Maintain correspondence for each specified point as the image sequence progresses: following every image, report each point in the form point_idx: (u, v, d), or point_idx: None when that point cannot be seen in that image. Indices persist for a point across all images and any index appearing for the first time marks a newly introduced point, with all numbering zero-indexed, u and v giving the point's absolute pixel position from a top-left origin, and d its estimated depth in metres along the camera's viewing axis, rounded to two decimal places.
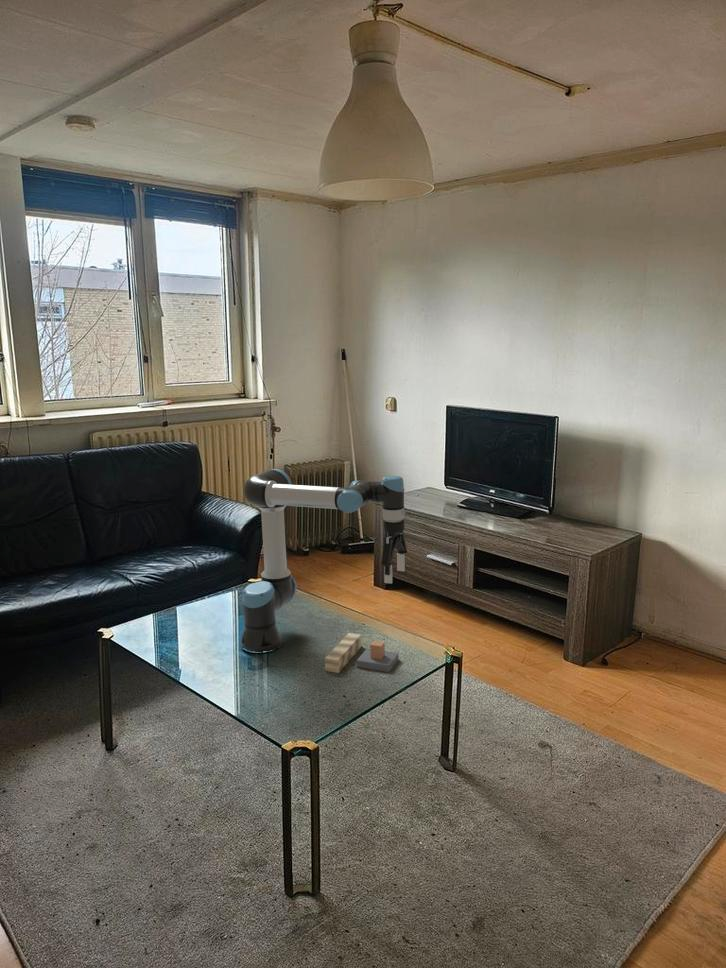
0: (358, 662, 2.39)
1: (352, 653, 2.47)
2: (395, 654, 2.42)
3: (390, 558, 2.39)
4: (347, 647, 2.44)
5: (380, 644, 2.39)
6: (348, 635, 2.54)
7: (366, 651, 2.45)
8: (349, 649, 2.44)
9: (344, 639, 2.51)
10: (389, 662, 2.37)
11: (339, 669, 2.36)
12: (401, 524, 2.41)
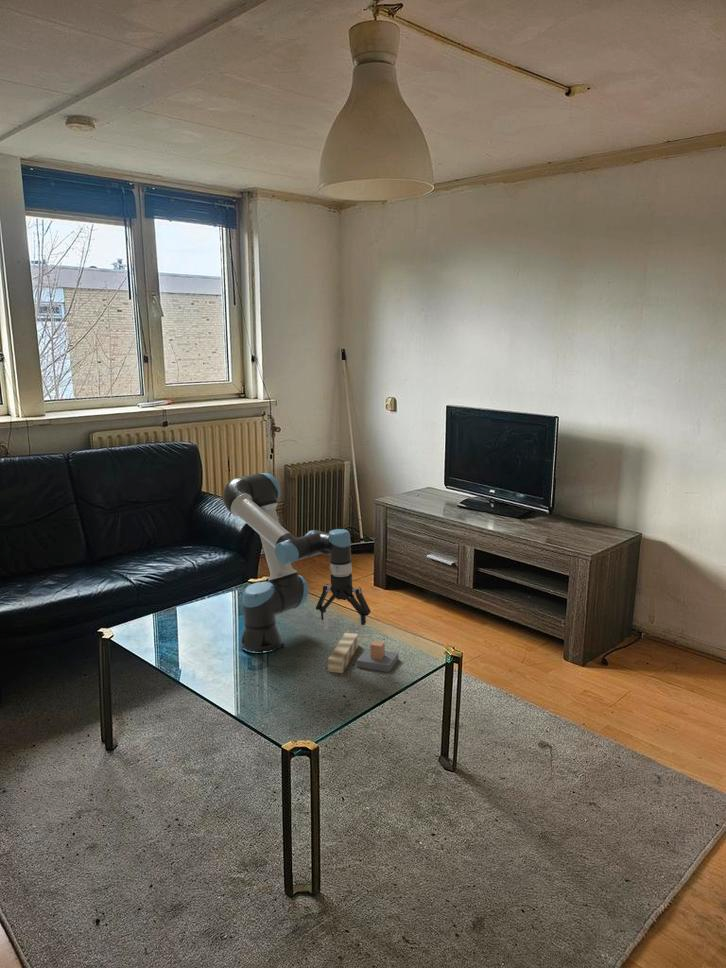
0: (358, 662, 2.39)
1: (352, 653, 2.48)
2: (395, 654, 2.42)
3: None
4: (347, 647, 2.44)
5: (380, 644, 2.39)
6: (345, 635, 2.54)
7: (366, 651, 2.45)
8: (349, 649, 2.44)
9: (343, 639, 2.51)
10: (389, 662, 2.37)
11: (343, 669, 2.36)
12: (333, 579, 2.38)
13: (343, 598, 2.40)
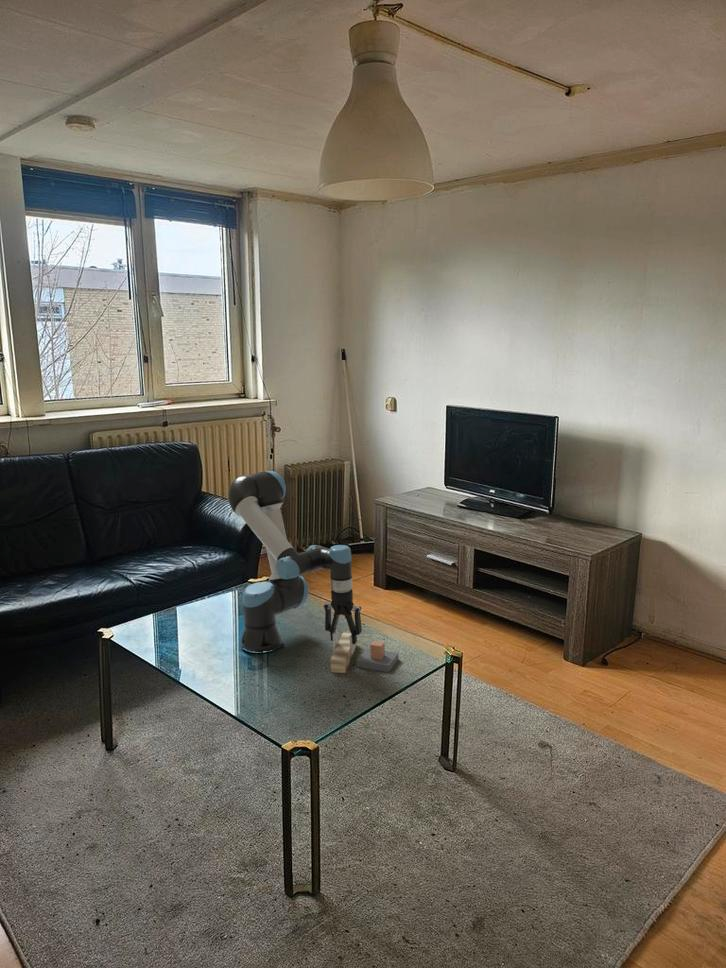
0: (358, 662, 2.39)
1: None
2: (395, 654, 2.42)
3: (331, 625, 2.45)
4: (348, 646, 2.44)
5: (380, 644, 2.39)
6: (344, 635, 2.54)
7: (366, 651, 2.45)
8: None
9: (342, 639, 2.51)
10: (389, 662, 2.37)
11: (345, 669, 2.36)
12: (333, 595, 2.39)
13: (343, 613, 2.42)
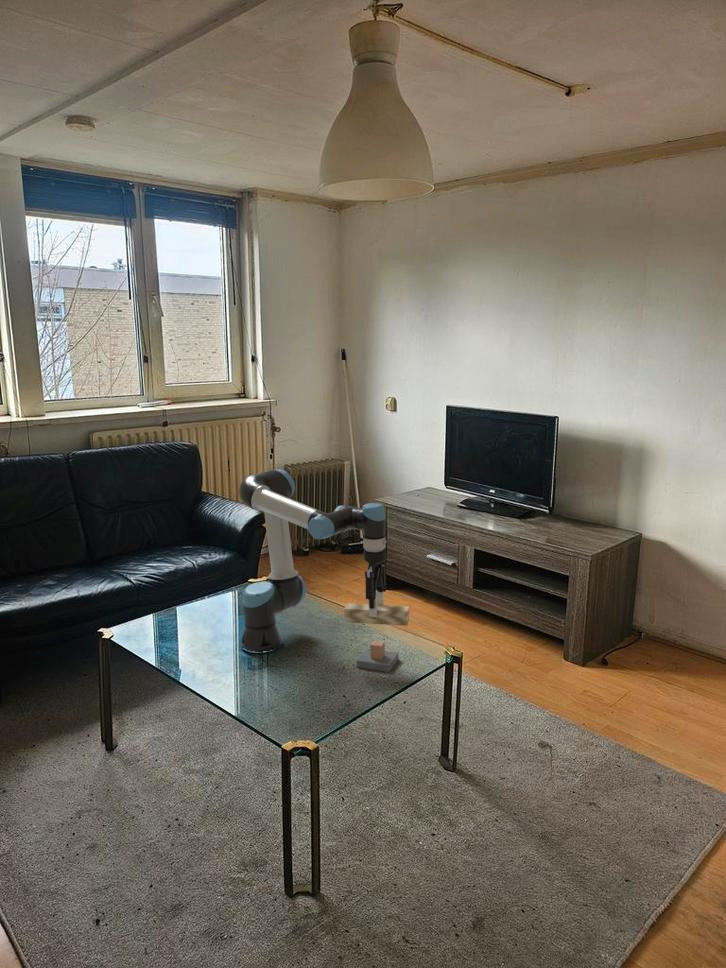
0: (358, 662, 2.39)
1: None
2: (395, 654, 2.42)
3: (374, 592, 2.32)
4: (379, 605, 2.39)
5: (380, 644, 2.39)
6: (350, 608, 2.38)
7: (366, 651, 2.45)
8: None
9: (360, 608, 2.37)
10: (389, 662, 2.37)
11: None
12: (382, 554, 2.31)
13: (379, 572, 2.35)
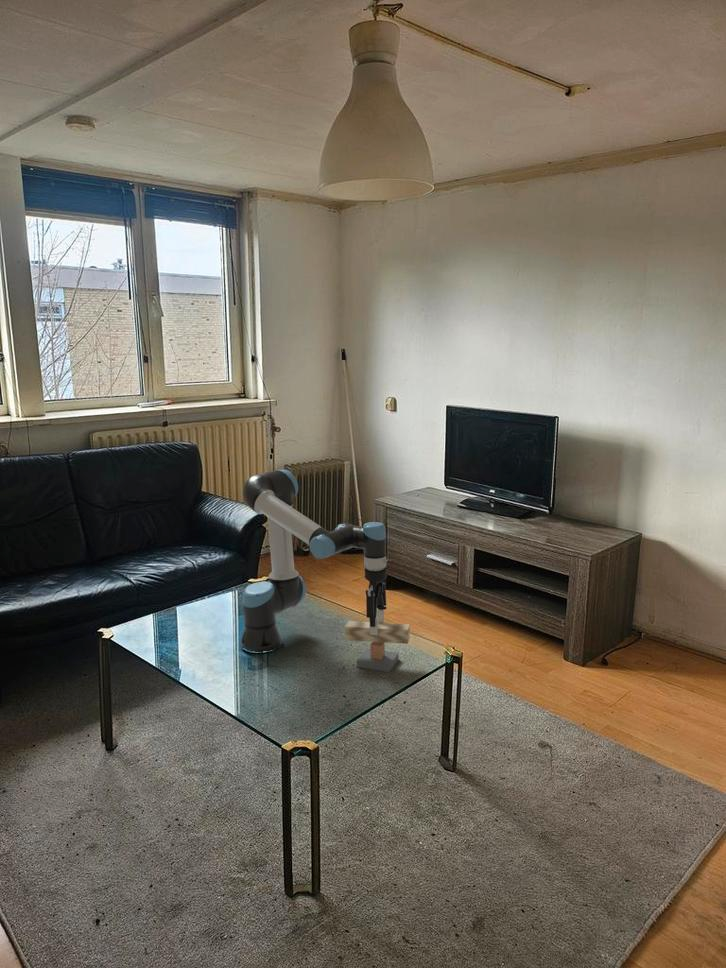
0: (358, 662, 2.39)
1: None
2: (395, 654, 2.42)
3: (374, 610, 2.33)
4: (380, 623, 2.40)
5: (380, 644, 2.39)
6: (351, 626, 2.39)
7: (366, 651, 2.45)
8: None
9: (361, 626, 2.38)
10: (389, 662, 2.37)
11: None
12: (383, 572, 2.32)
13: (379, 590, 2.37)
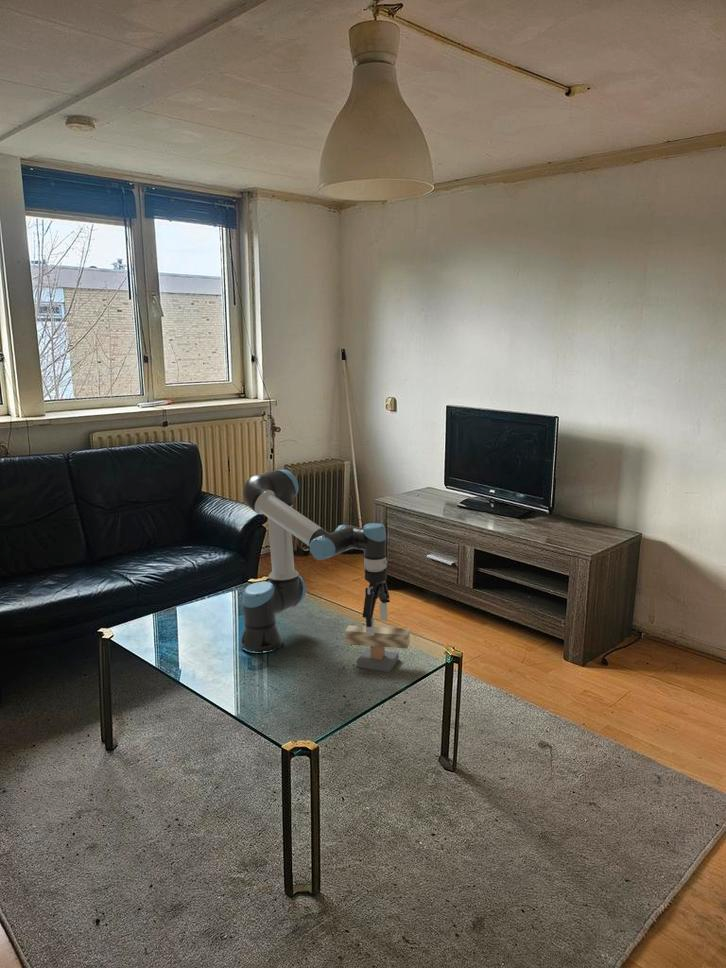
0: (358, 662, 2.39)
1: None
2: (395, 654, 2.42)
3: (372, 610, 2.31)
4: (380, 628, 2.41)
5: None
6: (351, 630, 2.39)
7: (366, 651, 2.45)
8: None
9: (361, 631, 2.39)
10: (389, 662, 2.37)
11: None
12: (383, 574, 2.32)
13: (379, 592, 2.37)
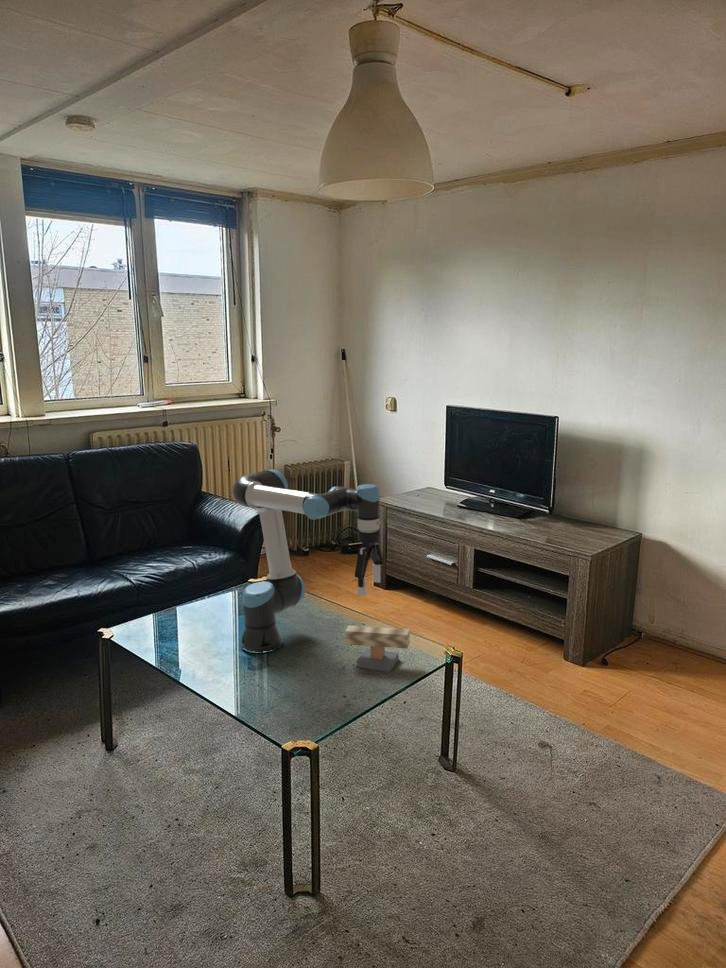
0: (358, 662, 2.39)
1: None
2: (395, 654, 2.42)
3: (364, 570, 2.31)
4: (380, 628, 2.41)
5: None
6: (351, 630, 2.39)
7: (366, 651, 2.45)
8: None
9: (361, 631, 2.39)
10: (389, 662, 2.37)
11: None
12: (376, 535, 2.32)
13: (372, 553, 2.37)
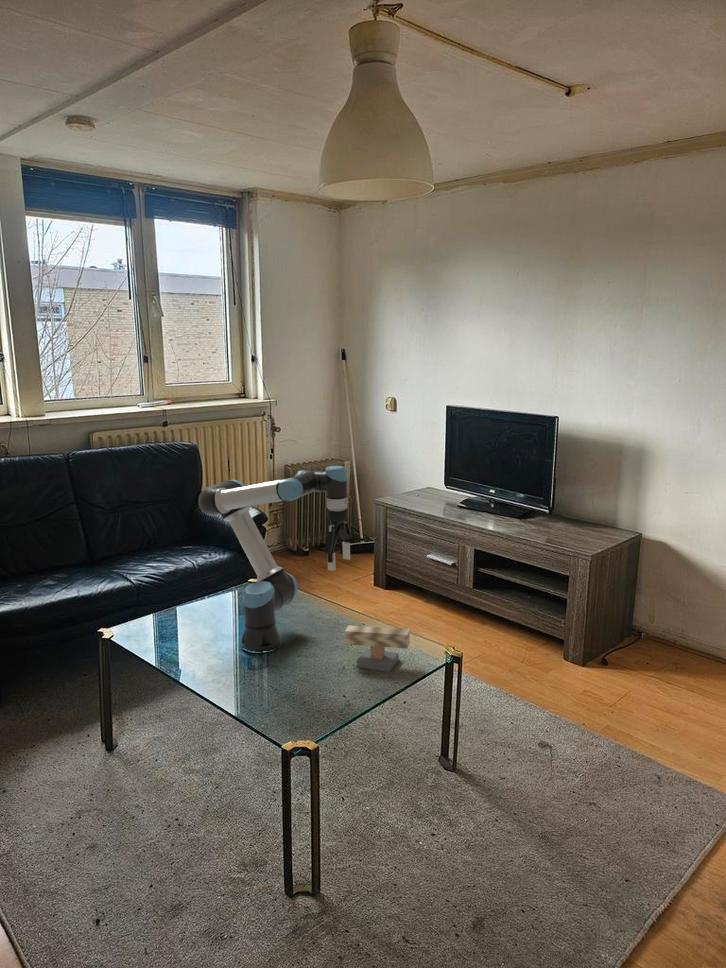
0: (358, 662, 2.39)
1: None
2: (395, 654, 2.42)
3: (333, 546, 2.45)
4: (380, 628, 2.41)
5: None
6: (351, 630, 2.39)
7: (366, 651, 2.45)
8: None
9: (361, 631, 2.39)
10: (389, 662, 2.37)
11: None
12: (344, 513, 2.47)
13: (341, 531, 2.51)
